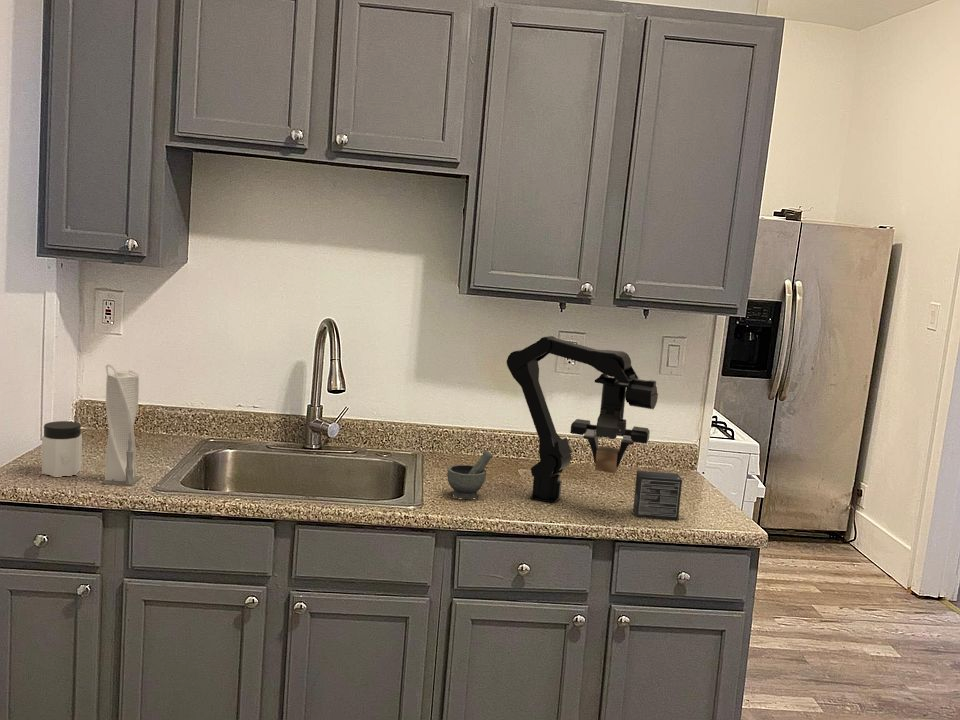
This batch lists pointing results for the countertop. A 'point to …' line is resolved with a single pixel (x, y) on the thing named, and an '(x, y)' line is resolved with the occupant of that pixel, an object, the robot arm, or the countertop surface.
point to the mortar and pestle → (468, 477)
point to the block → (606, 459)
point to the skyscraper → (121, 427)
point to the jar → (61, 448)
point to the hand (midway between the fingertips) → (606, 465)
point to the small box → (657, 495)
